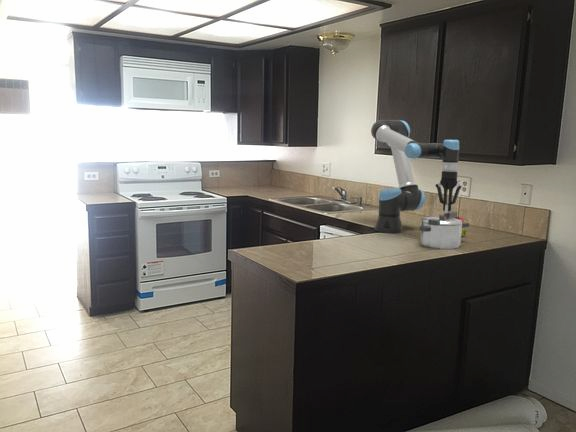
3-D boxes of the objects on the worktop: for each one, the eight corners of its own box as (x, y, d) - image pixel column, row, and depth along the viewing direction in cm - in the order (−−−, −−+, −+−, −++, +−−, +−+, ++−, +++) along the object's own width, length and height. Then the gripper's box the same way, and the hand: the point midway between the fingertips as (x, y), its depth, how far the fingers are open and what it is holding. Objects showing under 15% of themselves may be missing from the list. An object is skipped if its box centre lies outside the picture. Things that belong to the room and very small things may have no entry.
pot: (408, 243, 246) (410, 221, 244) (452, 238, 259) (454, 217, 257) (434, 250, 230) (436, 227, 229) (480, 245, 243) (481, 222, 242)
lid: (452, 227, 227) (453, 220, 226) (413, 223, 237) (414, 216, 237) (472, 218, 252) (473, 212, 251) (436, 215, 262) (436, 208, 262)
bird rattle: (449, 240, 264) (465, 235, 258) (443, 220, 265) (458, 215, 259) (454, 238, 269) (470, 234, 263) (447, 219, 270) (463, 214, 264)
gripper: (434, 170, 250) (431, 217, 254) (460, 171, 243) (457, 219, 247) (438, 169, 256) (436, 215, 260) (464, 171, 249) (461, 217, 253)
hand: (446, 217), depth 253 cm, fingers closed
